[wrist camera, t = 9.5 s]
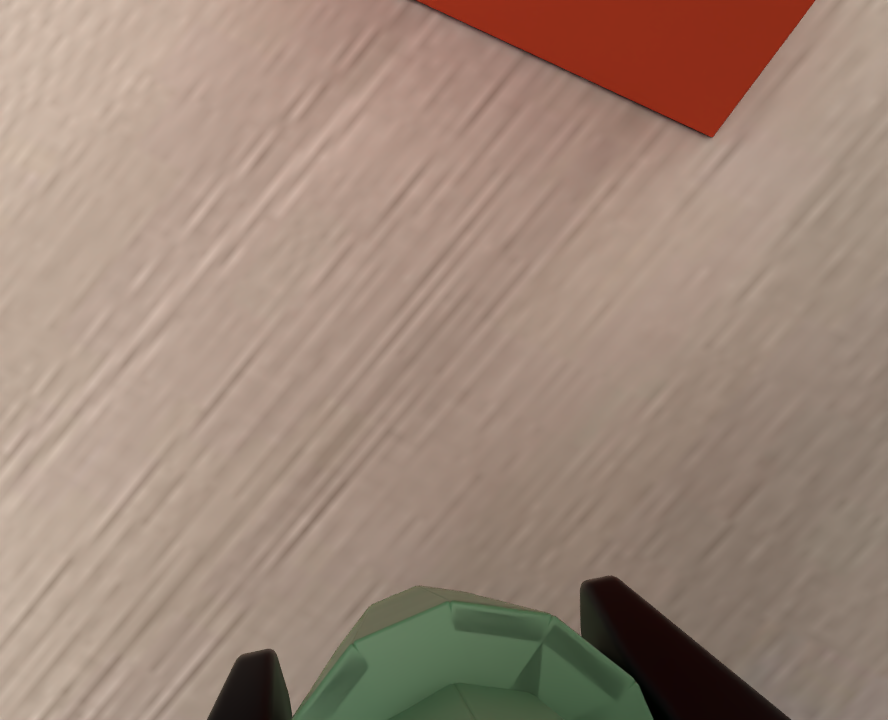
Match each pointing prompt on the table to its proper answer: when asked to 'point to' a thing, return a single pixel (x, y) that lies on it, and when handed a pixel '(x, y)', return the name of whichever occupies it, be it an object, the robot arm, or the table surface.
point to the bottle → (468, 666)
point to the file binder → (647, 45)
